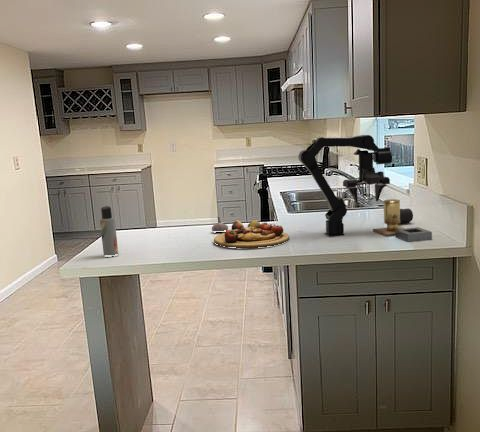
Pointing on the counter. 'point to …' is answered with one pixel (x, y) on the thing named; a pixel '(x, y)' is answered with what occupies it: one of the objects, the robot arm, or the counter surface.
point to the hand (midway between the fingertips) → (366, 202)
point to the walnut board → (385, 231)
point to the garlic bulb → (219, 226)
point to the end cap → (405, 216)
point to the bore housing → (413, 234)
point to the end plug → (392, 214)
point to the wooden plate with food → (252, 235)
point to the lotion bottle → (108, 232)
